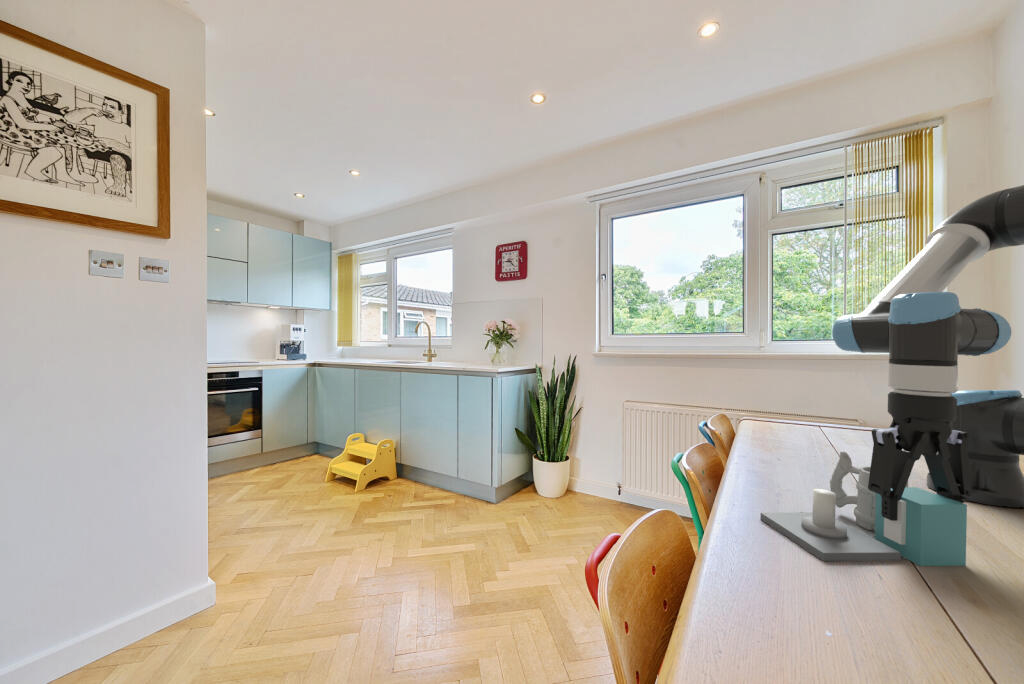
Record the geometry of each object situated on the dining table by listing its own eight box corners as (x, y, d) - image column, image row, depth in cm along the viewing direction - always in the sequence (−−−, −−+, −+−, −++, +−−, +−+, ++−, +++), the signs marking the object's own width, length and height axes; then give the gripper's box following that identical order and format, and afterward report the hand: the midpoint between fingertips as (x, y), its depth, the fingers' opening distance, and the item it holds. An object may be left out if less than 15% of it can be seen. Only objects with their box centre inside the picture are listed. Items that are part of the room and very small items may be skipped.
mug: (901, 542, 66) (902, 469, 66) (819, 513, 76) (820, 451, 76) (920, 532, 69) (921, 463, 69) (839, 506, 80) (840, 446, 80)
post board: (823, 519, 74) (824, 477, 74) (900, 560, 60) (901, 509, 60) (760, 519, 74) (761, 477, 74) (823, 560, 60) (824, 509, 60)
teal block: (915, 541, 66) (916, 487, 66) (965, 565, 59) (966, 504, 59) (874, 542, 66) (876, 487, 66) (920, 566, 59) (921, 504, 59)
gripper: (954, 390, 66) (951, 528, 66) (838, 388, 66) (836, 529, 66) (1012, 396, 59) (1009, 552, 59) (883, 395, 58) (880, 553, 58)
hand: (918, 539), depth 62 cm, fingers closed on teal block, 7 cm apart
